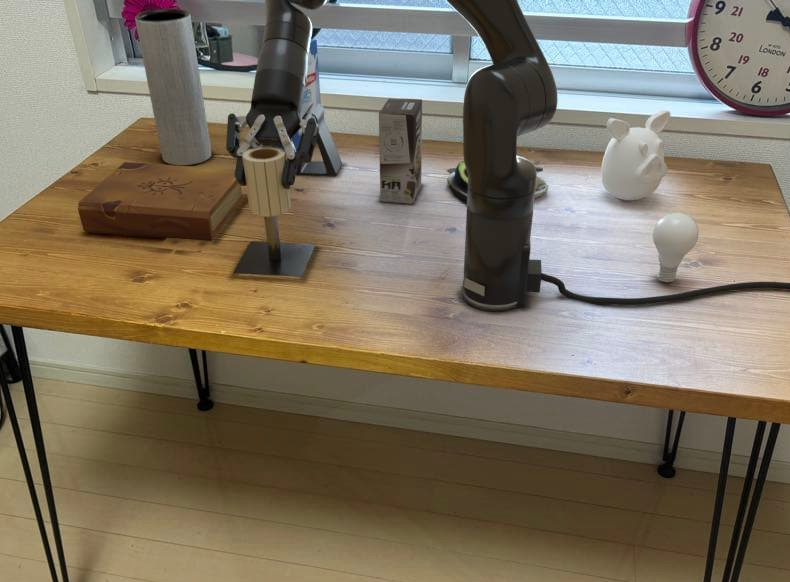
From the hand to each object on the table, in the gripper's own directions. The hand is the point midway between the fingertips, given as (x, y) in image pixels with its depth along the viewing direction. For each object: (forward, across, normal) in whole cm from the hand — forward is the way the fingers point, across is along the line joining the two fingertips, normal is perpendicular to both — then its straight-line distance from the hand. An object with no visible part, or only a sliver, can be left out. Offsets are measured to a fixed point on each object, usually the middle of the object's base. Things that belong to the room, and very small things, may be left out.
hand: (263, 185), depth 120 cm
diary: (-1, -24, +20) cm, 32 cm away
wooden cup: (+2, 0, +4) cm, 5 cm away
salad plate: (-16, +31, +36) cm, 50 cm away
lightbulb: (+5, +60, +15) cm, 63 cm away
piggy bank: (-17, +56, +37) cm, 69 cm away
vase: (-20, -33, +40) cm, 55 cm away
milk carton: (-28, -13, +48) cm, 57 cm away
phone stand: (-19, -5, +38) cm, 43 cm away
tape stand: (+8, 0, +11) cm, 14 cm away
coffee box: (-13, +14, +33) cm, 38 cm away
